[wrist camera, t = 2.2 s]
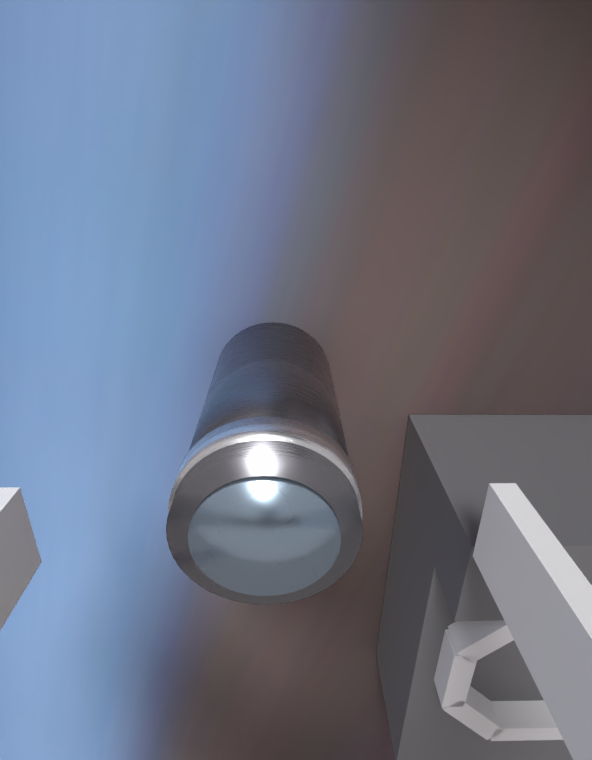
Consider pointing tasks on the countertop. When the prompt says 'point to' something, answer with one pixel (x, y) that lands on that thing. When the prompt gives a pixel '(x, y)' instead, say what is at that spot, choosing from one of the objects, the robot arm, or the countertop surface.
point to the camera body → (473, 584)
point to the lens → (267, 475)
